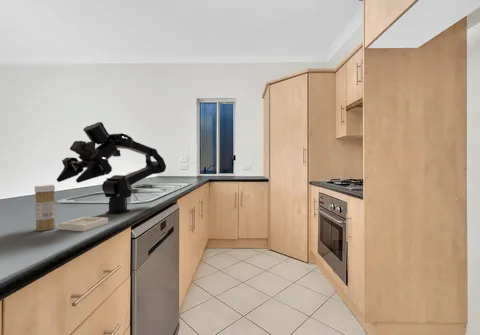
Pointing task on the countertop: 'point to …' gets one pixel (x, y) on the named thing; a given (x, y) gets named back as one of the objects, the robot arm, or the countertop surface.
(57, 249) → the countertop surface
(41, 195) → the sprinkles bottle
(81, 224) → the tray
